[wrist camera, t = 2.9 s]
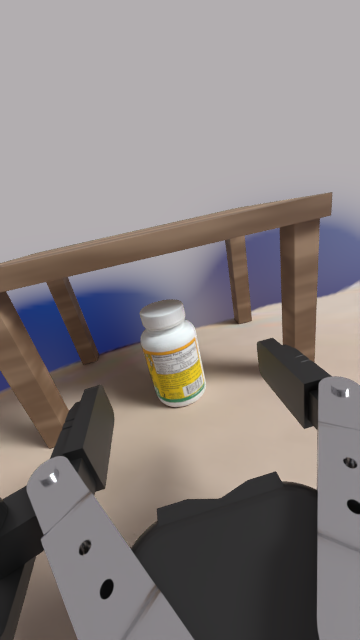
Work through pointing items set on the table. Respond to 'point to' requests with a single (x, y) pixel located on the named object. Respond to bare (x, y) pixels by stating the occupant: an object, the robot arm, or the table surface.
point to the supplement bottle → (172, 353)
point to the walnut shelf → (231, 225)
